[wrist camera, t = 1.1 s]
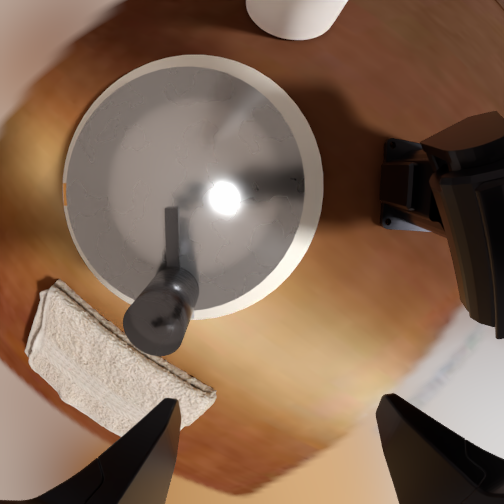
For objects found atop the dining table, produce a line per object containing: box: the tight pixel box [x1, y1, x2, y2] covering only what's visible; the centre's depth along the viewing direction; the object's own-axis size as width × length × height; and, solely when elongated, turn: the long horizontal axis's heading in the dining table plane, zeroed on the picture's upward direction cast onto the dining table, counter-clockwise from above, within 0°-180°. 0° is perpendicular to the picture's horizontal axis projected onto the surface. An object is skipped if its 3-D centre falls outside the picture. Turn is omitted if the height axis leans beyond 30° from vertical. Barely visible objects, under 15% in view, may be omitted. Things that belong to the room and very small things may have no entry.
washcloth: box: [25, 279, 216, 437], centre depth 22 cm, size 12×18×3 cm, turn 53°
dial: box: [66, 67, 305, 356], centre depth 14 cm, size 15×15×6 cm
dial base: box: [63, 55, 323, 320], centre depth 18 cm, size 18×18×2 cm
